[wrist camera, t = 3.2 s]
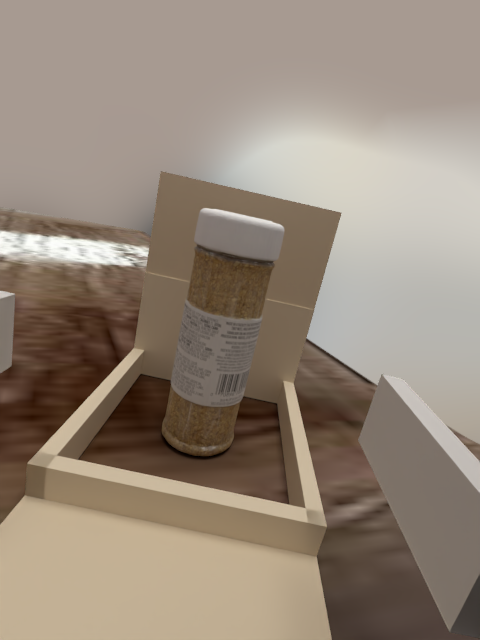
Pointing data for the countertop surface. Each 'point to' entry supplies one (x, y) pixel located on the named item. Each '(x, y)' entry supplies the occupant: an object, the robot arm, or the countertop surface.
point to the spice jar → (219, 328)
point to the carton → (173, 496)
